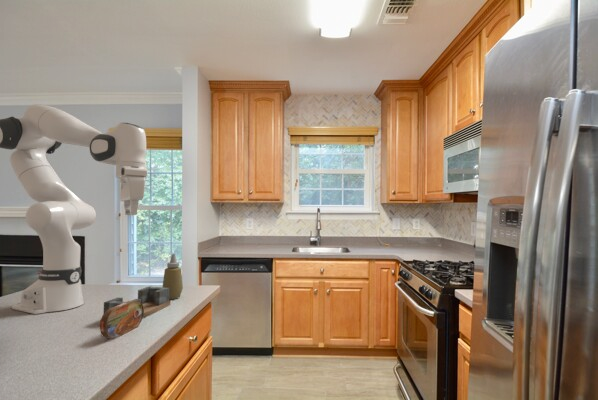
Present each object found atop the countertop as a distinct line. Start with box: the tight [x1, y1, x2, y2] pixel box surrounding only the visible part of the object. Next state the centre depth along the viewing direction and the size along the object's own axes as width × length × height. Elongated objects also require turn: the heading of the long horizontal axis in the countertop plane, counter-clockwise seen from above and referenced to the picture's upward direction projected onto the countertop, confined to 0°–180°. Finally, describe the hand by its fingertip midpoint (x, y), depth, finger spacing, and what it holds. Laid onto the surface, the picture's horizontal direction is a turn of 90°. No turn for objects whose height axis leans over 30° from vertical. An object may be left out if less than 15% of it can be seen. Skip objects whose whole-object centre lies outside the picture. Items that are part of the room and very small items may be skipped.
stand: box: [102, 286, 171, 320], centre depth 110 cm, size 10×22×6 cm, turn 169°
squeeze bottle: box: [162, 253, 184, 300], centre depth 130 cm, size 8×8×18 cm
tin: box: [99, 300, 144, 339], centre depth 93 cm, size 15×3×8 cm, turn 168°
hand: (130, 214), depth 102 cm, fingers open, 8 cm apart
